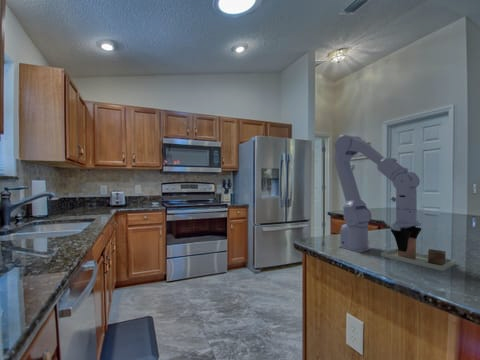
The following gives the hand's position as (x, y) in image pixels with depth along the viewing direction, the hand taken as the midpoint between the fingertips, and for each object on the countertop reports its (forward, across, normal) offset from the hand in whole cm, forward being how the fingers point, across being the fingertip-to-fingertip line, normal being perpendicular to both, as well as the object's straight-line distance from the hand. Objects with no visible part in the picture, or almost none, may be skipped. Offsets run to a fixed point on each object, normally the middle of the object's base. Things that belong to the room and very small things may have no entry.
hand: (406, 249), depth 86 cm
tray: (+3, 0, -3) cm, 4 cm away
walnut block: (+3, 0, -8) cm, 9 cm away
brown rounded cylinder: (+2, 0, 0) cm, 2 cm away
